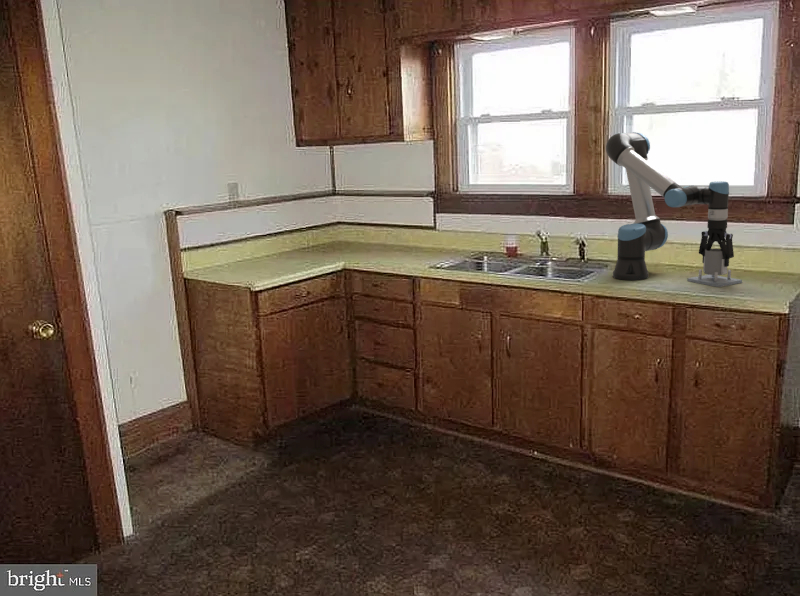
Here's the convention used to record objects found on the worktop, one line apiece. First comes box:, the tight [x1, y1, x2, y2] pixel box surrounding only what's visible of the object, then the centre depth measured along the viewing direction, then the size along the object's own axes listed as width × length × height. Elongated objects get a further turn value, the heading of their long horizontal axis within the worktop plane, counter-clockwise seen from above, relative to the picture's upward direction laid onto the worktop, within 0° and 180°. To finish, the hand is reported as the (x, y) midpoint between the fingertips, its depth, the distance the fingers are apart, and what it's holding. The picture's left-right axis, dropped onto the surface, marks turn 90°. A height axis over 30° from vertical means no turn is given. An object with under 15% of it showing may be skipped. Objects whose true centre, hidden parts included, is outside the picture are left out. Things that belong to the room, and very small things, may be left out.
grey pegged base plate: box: [686, 269, 743, 288], centre depth 300 cm, size 16×14×5 cm
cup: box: [703, 247, 725, 276], centre depth 299 cm, size 8×8×10 cm
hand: (715, 272), depth 300 cm, fingers closed on cup, 8 cm apart
